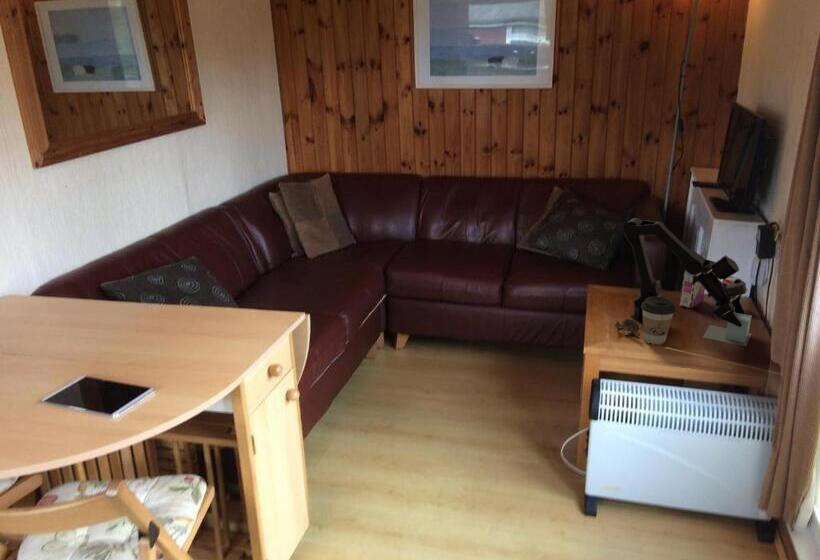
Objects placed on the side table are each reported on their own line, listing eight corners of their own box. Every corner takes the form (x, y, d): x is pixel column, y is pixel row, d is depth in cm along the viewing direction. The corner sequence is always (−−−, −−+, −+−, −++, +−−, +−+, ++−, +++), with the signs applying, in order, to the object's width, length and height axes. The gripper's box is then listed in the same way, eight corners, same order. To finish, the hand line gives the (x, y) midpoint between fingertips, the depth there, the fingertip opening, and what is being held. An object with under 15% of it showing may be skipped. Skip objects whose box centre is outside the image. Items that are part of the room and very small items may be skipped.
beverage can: (737, 310, 252) (742, 281, 248) (720, 309, 253) (725, 280, 249) (733, 304, 258) (738, 276, 254) (716, 303, 259) (721, 275, 255)
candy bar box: (691, 309, 254) (696, 270, 248) (679, 305, 258) (684, 267, 252) (704, 301, 261) (709, 263, 255) (692, 298, 265) (697, 260, 259)
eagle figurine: (612, 334, 232) (638, 335, 227) (614, 315, 234) (639, 315, 229) (618, 338, 238) (643, 339, 234) (619, 319, 240) (644, 320, 235)
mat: (702, 338, 230) (703, 331, 229) (709, 326, 239) (710, 319, 238) (745, 348, 222) (747, 340, 221) (751, 335, 231) (752, 327, 230)
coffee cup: (640, 347, 225) (645, 307, 220) (634, 333, 236) (638, 294, 230) (674, 348, 224) (680, 308, 218) (667, 334, 234) (671, 295, 229)
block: (724, 338, 228) (728, 317, 225) (728, 332, 233) (731, 311, 230) (744, 342, 225) (748, 321, 222) (748, 336, 230) (751, 315, 227)
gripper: (728, 282, 216) (759, 319, 214) (738, 266, 230) (768, 301, 228) (700, 299, 223) (730, 335, 221) (711, 283, 237) (740, 316, 235)
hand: (743, 321), depth 226 cm, fingers open, 9 cm apart
